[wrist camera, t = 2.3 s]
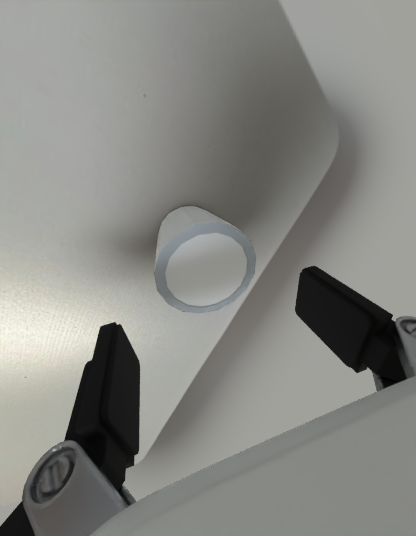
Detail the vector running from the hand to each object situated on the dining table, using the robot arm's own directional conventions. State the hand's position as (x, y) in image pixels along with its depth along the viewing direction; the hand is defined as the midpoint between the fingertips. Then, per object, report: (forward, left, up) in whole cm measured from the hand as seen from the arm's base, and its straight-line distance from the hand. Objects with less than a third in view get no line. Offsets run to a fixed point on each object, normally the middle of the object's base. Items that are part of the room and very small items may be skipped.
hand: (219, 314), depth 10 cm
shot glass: (0, 0, -11) cm, 11 cm away
